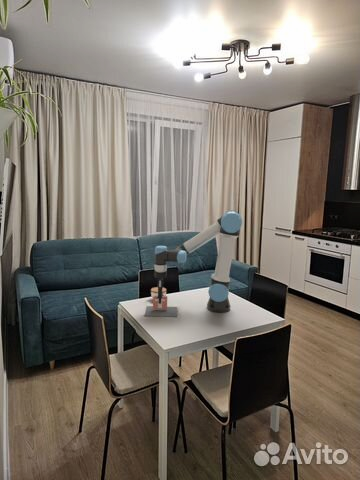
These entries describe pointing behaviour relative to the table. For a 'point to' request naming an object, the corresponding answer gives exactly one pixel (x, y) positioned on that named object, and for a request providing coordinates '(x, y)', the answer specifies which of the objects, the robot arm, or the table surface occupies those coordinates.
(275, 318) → the table surface
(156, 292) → the lidded jar
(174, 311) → the mat
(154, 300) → the deck
